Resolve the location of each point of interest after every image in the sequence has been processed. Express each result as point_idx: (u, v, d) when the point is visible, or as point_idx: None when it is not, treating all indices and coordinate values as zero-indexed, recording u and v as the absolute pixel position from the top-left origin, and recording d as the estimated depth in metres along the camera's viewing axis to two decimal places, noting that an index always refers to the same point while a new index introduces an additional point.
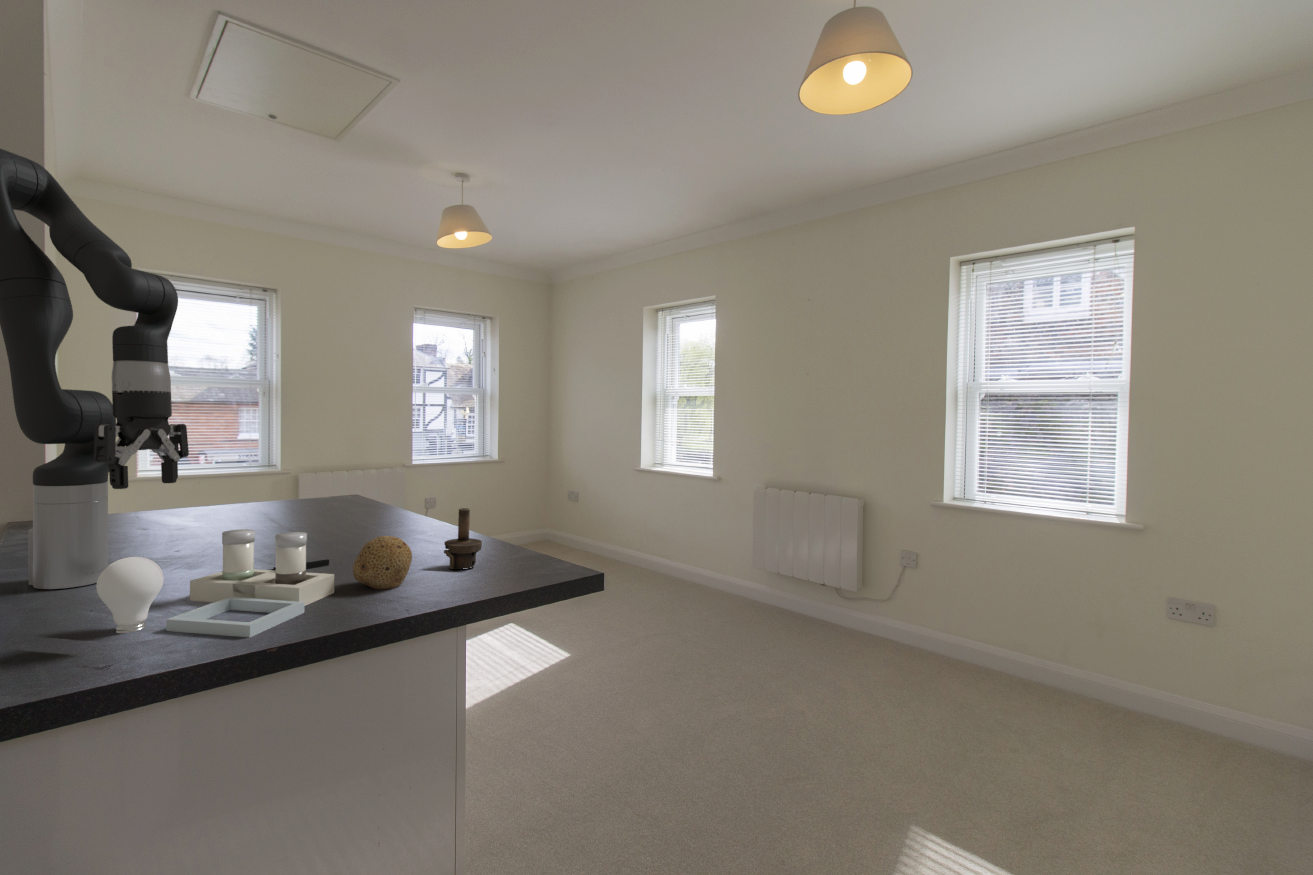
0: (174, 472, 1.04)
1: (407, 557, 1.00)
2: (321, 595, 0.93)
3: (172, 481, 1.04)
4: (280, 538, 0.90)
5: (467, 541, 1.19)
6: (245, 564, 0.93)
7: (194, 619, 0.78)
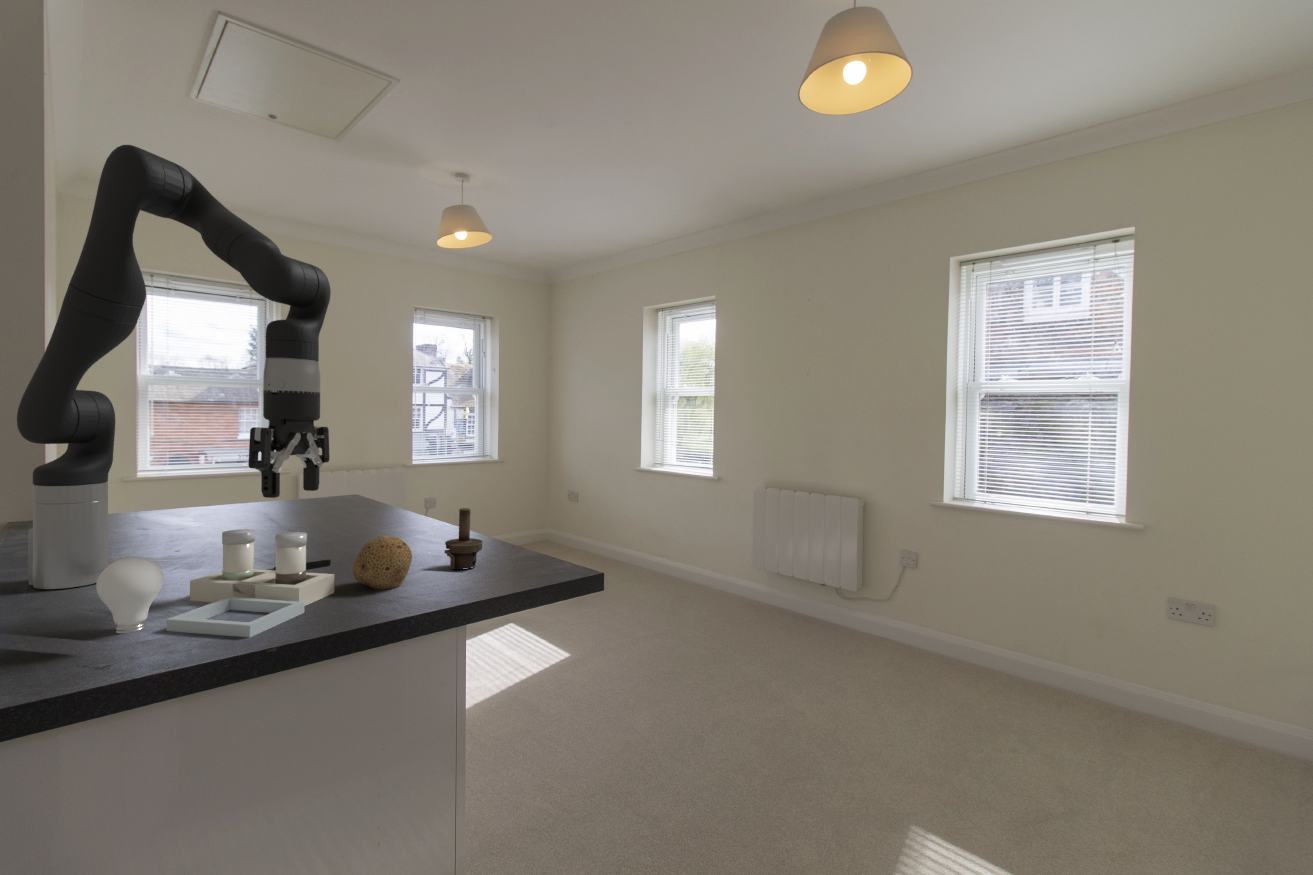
0: (317, 479, 0.96)
1: (407, 557, 1.00)
2: (321, 595, 0.93)
3: (315, 489, 0.96)
4: (280, 538, 0.90)
5: (468, 541, 1.19)
6: (245, 564, 0.93)
7: (194, 619, 0.78)
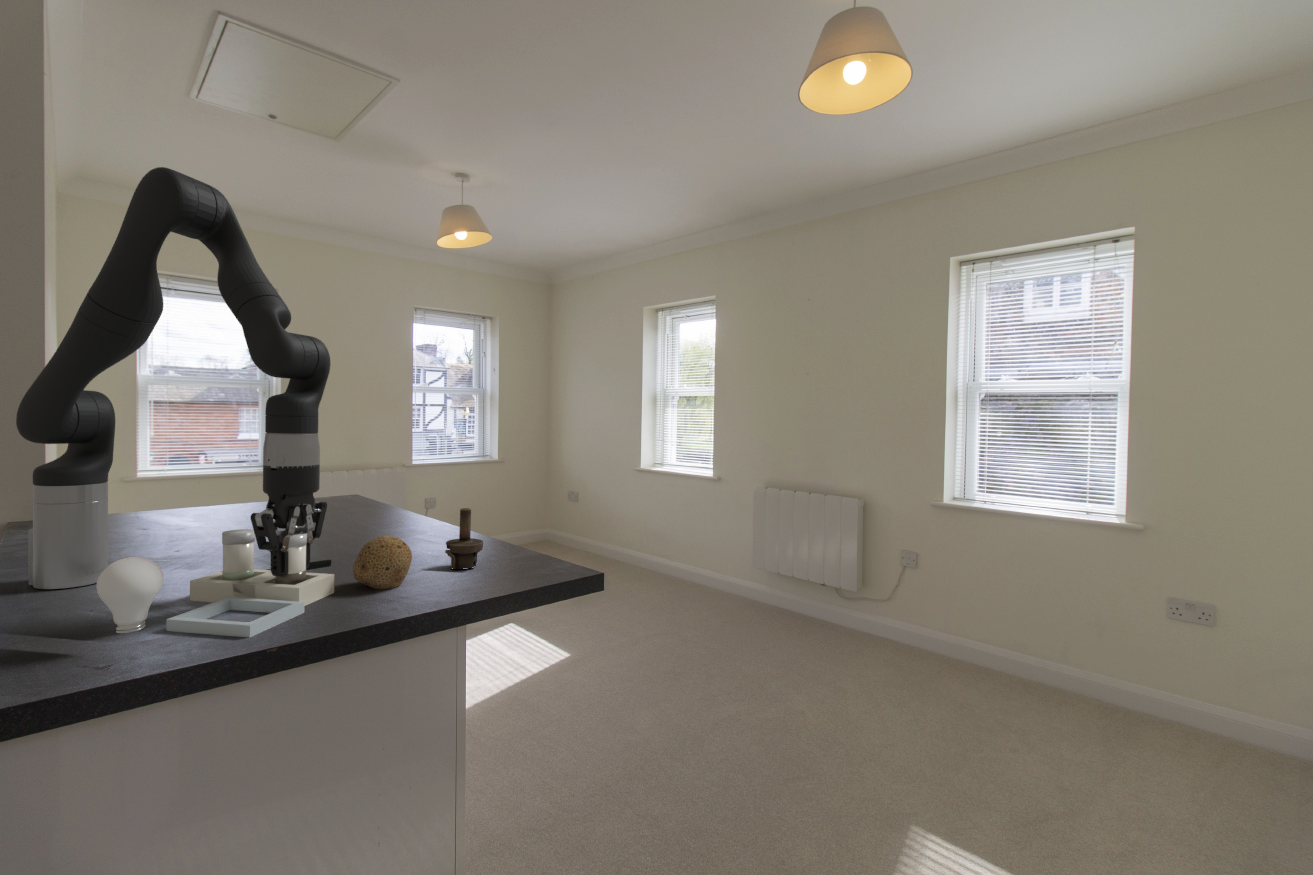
0: (308, 556, 0.95)
1: (407, 557, 1.00)
2: (321, 595, 0.93)
3: None
4: (280, 538, 0.90)
5: (468, 541, 1.19)
6: (245, 564, 0.93)
7: (194, 619, 0.78)
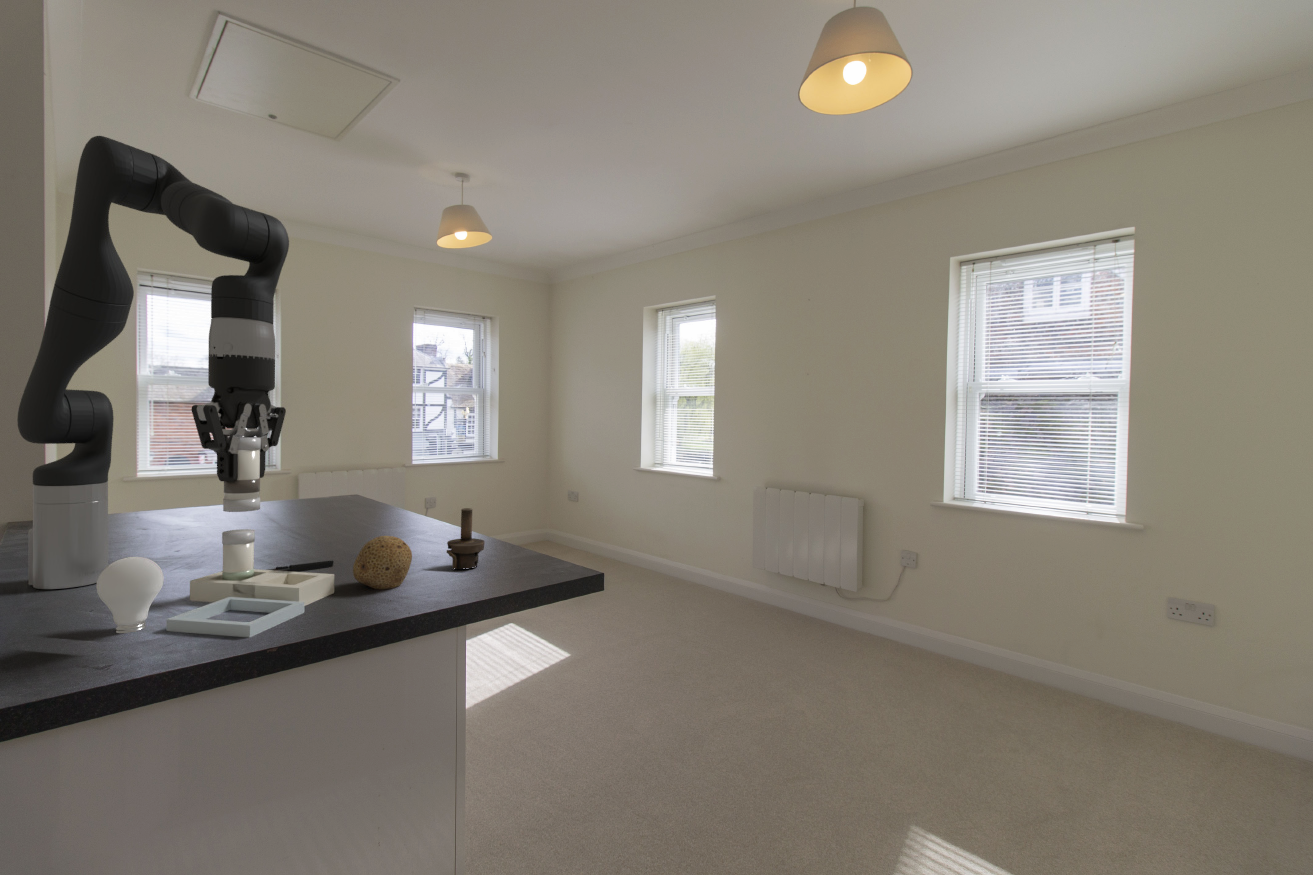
0: (262, 465, 0.84)
1: (407, 557, 1.00)
2: (321, 595, 0.93)
3: None
4: None
5: (470, 541, 1.19)
6: (245, 564, 0.93)
7: (194, 619, 0.78)
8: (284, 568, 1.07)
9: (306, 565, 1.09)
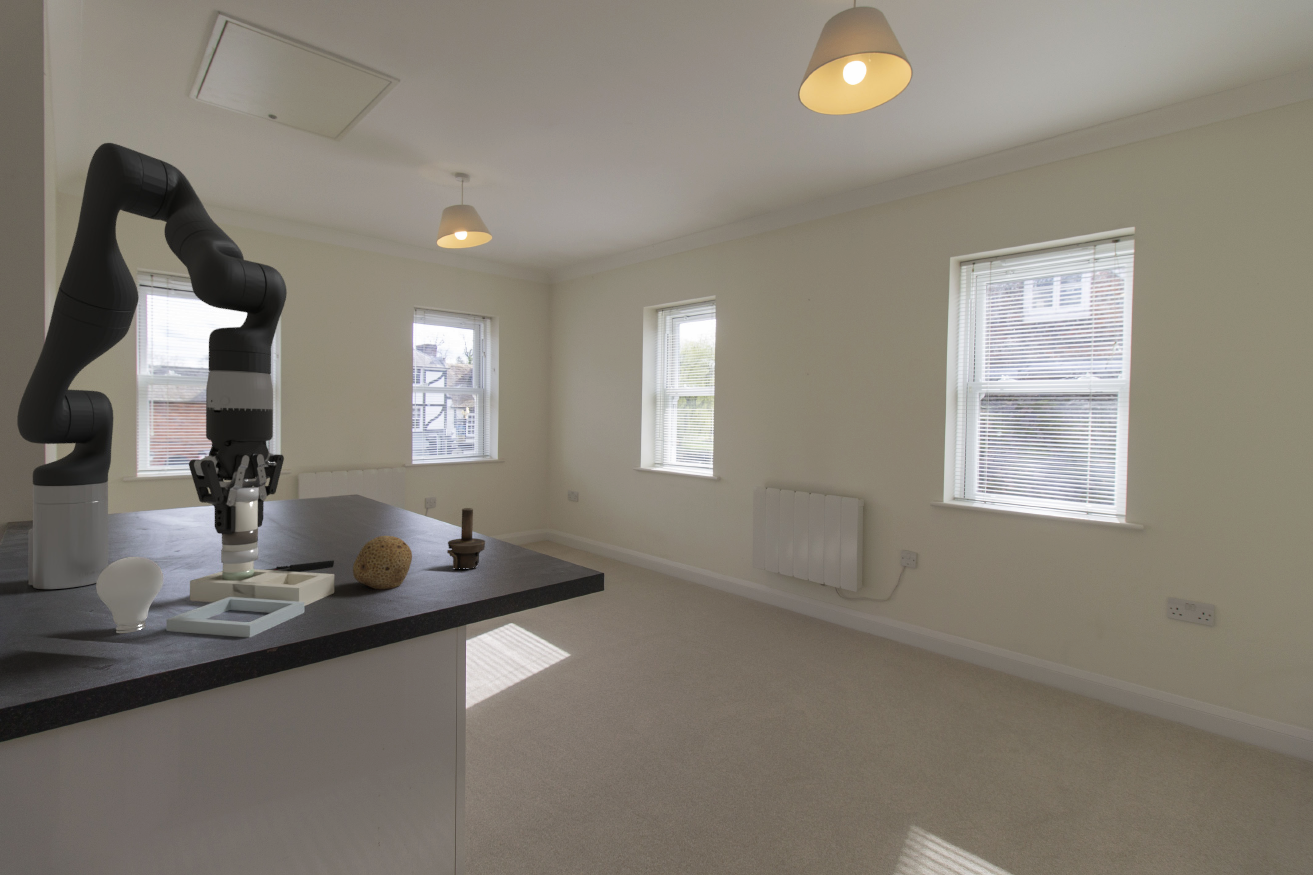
0: (260, 514, 0.84)
1: (407, 557, 1.00)
2: (321, 595, 0.93)
3: None
4: (226, 491, 0.80)
5: (470, 541, 1.19)
6: (245, 564, 0.93)
7: (194, 619, 0.78)
8: (284, 568, 1.07)
9: (306, 565, 1.09)
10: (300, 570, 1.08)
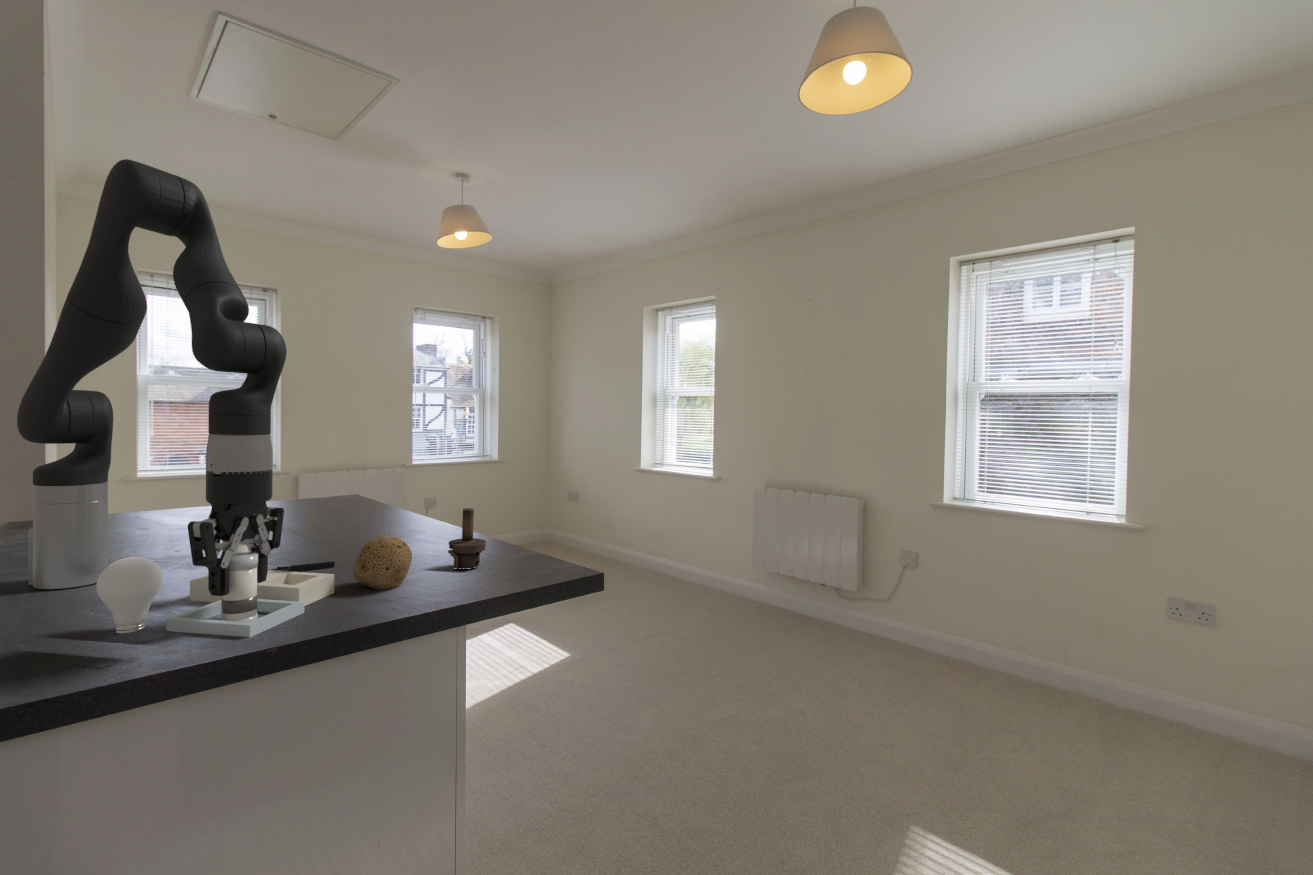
0: (264, 569, 0.85)
1: (407, 557, 1.00)
2: (321, 595, 0.93)
3: (262, 580, 0.85)
4: None
5: (471, 541, 1.19)
6: None
7: (194, 619, 0.78)
8: (285, 568, 1.07)
9: (307, 566, 1.09)
10: (300, 571, 1.08)
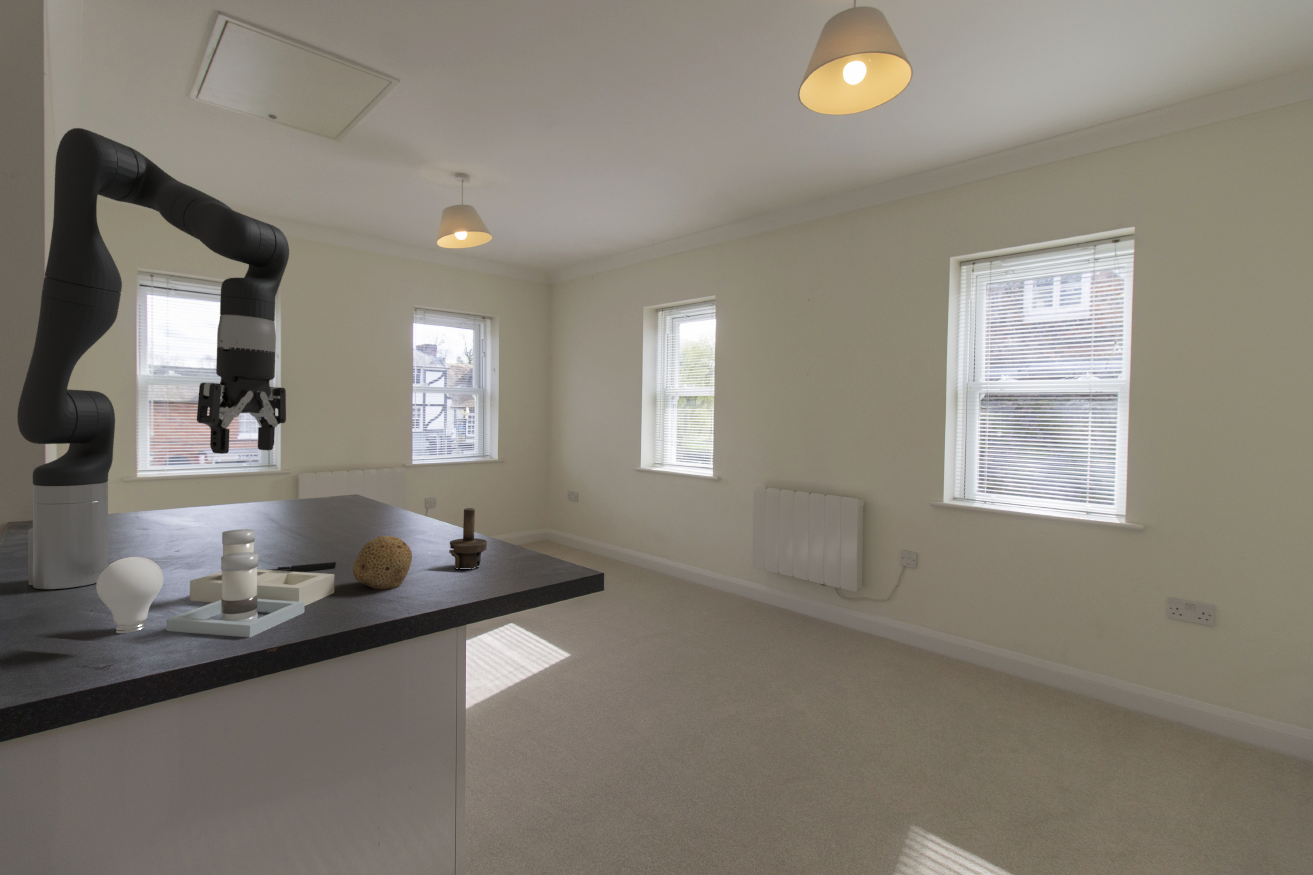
0: (271, 439, 0.97)
1: (407, 557, 1.00)
2: (321, 595, 0.93)
3: (269, 448, 0.97)
4: (226, 560, 0.80)
5: (472, 541, 1.19)
6: None
7: (194, 619, 0.78)
8: (285, 568, 1.07)
9: (308, 566, 1.09)
10: (301, 571, 1.07)
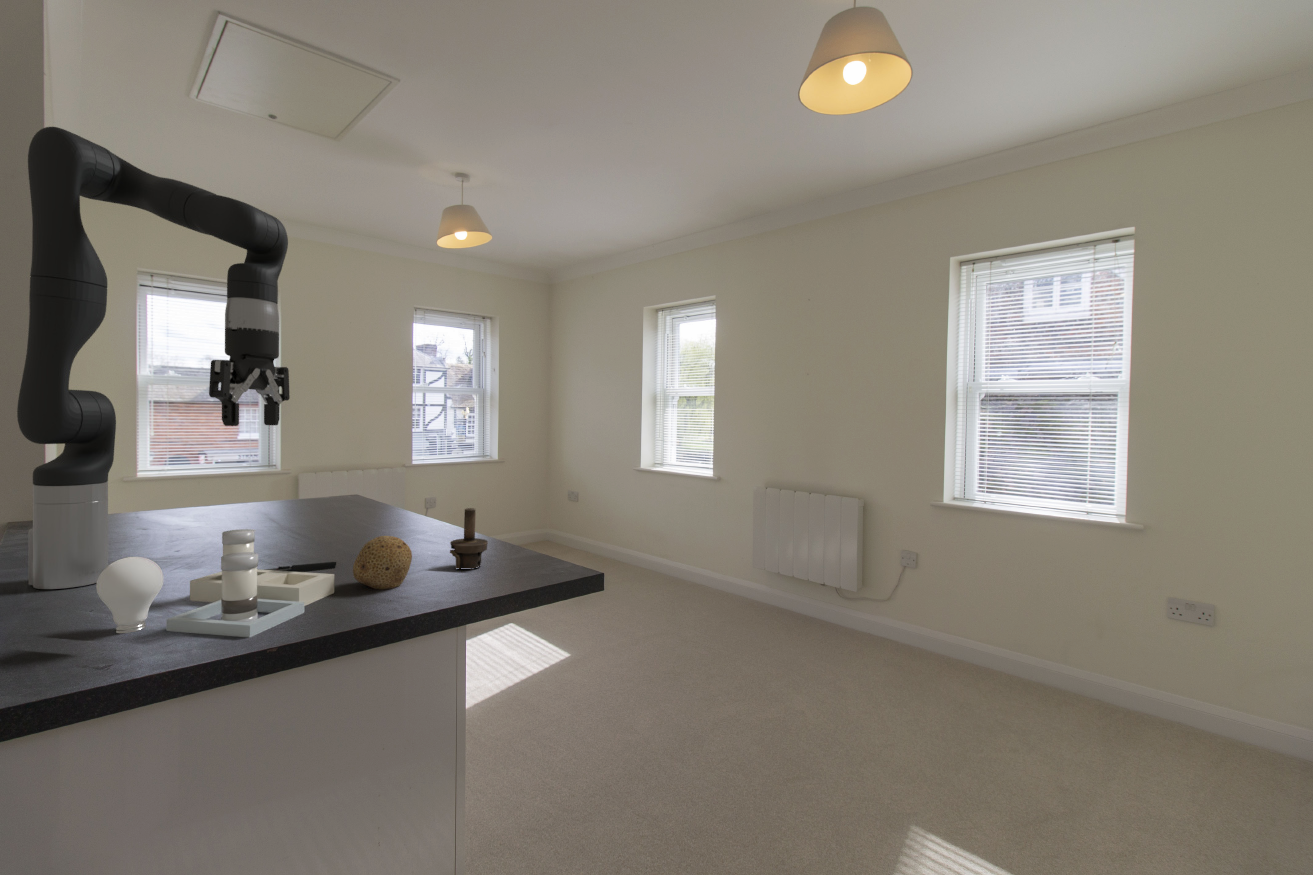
0: (277, 414, 1.04)
1: (407, 557, 1.00)
2: (321, 595, 0.93)
3: (274, 423, 1.04)
4: (226, 560, 0.80)
5: (473, 541, 1.19)
6: None
7: (194, 619, 0.78)
8: (286, 568, 1.07)
9: (308, 566, 1.09)
10: (301, 571, 1.08)
